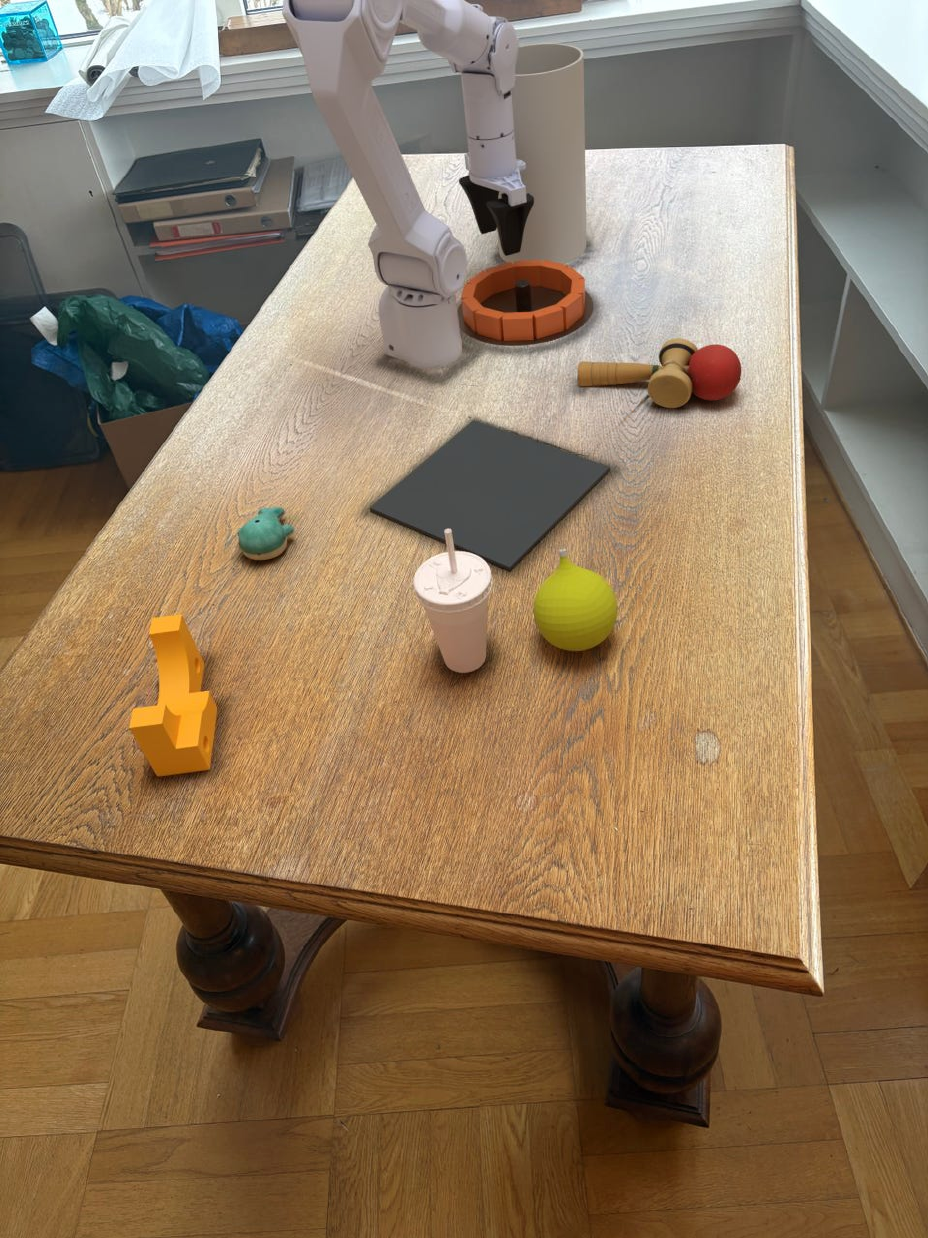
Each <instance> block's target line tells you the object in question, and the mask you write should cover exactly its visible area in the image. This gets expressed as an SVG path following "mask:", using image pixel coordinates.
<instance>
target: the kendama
mask: <svg viewBox="0 0 928 1238" xmlns="http://www.w3.org/2000/svg"><path fill="white" fill-rule="evenodd" d="M658 360H659V363H660V365H659V364H648V363H641V362H640V363H637V362H616V361H615V362H613V361H612V362H608V361H586V360H585V361H584V360H582V361H579V363H578V366H577V383H578V386H579V387H594V386H595V387H600V386H613V385H623V384H632V383H640V382H641V383H642V382H644V381H645V382H647V381H648V385H647V395H648V397H649V399H650V400H651V401H652V402H653V403H655V404H656V405H657V406H660V407H663V408H667V409H676V408H680V407H682V406H684V405H685V404H687V403H688V402H689V400H690V398H691V396H692V394H694V395H695V396H696V397H698V398H700V399H702V400H704V401H719V400H722V399H724V398H727V397H728V396H730V395H731V394H732V393H733V392H734V391H736V388H737V387H738V386H739V384H740V382H741V379H742V378H741V377H742V364H741V361H740V359H739V356H738V355H737V353H736V352H735V351H733V350H732V349H731V348H730V347H727V346H726V345H722V344H716V343H715V344H708V345H705V346H702V347H701V348H699V349H698V347H697V346H696V345H695V343H694V342H692V341H690V340H688V339H686V338H682V337H681V338H680V337H675V338H671V339H669V340H667V341H666V342H664V343H663V344H662V346H661V348H660V350H659V353H658Z"/></svg>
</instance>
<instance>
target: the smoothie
mask: <svg viewBox="0 0 928 1238" xmlns="http://www.w3.org/2000/svg"><path fill="white" fill-rule="evenodd" d="M444 532H445V538H446V543H445V544H446V551H445V552H441V553H439V554H436V555H433V556H432V557H429V558H428V559H426V560H425V561H424V562H423V563H421V565H420V566H419V567H418V568H417V569H416V571H415V573H414V576H413V586H414V587H413V588H414V589H413V590H414V595H415V597H416V599H417V601H418V602H419V603H420V604H421V606H423V608H424V611H425V613H426V617H427V619H428V622H429V624H430V627H431V629H432V632H433V635H434V638H435V640H436V644H437V646H438V648H439V651H440V653H441V654H440V655H441V656H442V659H443V661H444V664H445V665H446V667H447V668H448V669H449V670H451V671H453V672H455V673H460V674H464V673H465V674H466V673H471V672H474V671H476V670H478V669H480V668H481V667H482V666H483V665H484V663H485V662H486V658H487V646H488V645H487V641H488V618H489V617H488V616H489V600H490V599H489V594H490V593H491V592H492V589H493V584H494V581H493V575H492V571H491V567H490V565H489V563H487V561H486V560H483V559H482V558H481V557H479V556H477V555H475V554H472V553H469V552H465V551H462V550H455V547H454V544H453V537H452V531H451V529H446V530H445V531H444Z"/></svg>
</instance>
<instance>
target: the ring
mask: <svg viewBox="0 0 928 1238" xmlns="http://www.w3.org/2000/svg"><path fill="white" fill-rule="evenodd" d="M523 279H525V280H529V281H530V286H531V287H537V286H541V287H545V288H549V289H553V290H557V291H561V292H563V293H564V294H565V295H566V297H565V298H563V299H562V300H561V301H560V302H558V303H557V304H556V305H552V306H549V307H546V308H543V309H540V310H536V311H533V312H514V313H504V312H500V311H496V310H492V309H489V308H485V307H483V306H482V305H481V303H482V302H484V301H485V300H486V299H488V298H489V297H490V296H492V295H493V294H496V293H499V292H503V291H506V290H509V289H512V288H515V282H516V281H518V280H523ZM585 291H586V279H585V277H584V276H583V275H582V274H581V273H580V272H578V271H577V270H576V269H575V268H573V267H572V266H569V265H568V264H560V263H556V262H551V261H547V260H544V261H543V262H542V260H528V261H514V264H513V263H512V262H508V263H507V262H504V263H501V264H497V265H496V266H490V267H488V268H485V270H481V271H480V272H478V273H477V274H476V275H474V276H473V277H471V278H470V279H469V280H467V281H466V282H465V284H464V285H463V290H462V292H461V297H460V301H461V303H462V310H463V318H464V321H465V322H466V323H467V324H468V326H469V327H470V328H471V329H472V330H473V331H474V332H477V334H479V335H483V336H486V337H490V338H493V339H497V340H500V341H501V340H502V339H503V338H504V341H521V340H534V337H536V338H537V339H540V338H543V337H546V336H550V335H553V334H556V333H559V332H562V331H564V329H566V330H567V329H568V328H569V327H571V326H572V325H573V324H574V323H575V322H577V321H578V320H579V319H580V318H581V317H582V316H583V315H584V308H585Z"/></svg>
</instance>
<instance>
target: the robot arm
mask: <svg viewBox="0 0 928 1238" xmlns="http://www.w3.org/2000/svg"><path fill="white" fill-rule="evenodd" d="M282 1H283V2H282V10H281V14H282V17H283V20H285V23H286V25H287V27H288V29H289V31H290V34H291V35H292V37H293V39H294V42H295V43H296V46H297V48H298V50H299V52H300V55H301V56H302V58H303V62H304V66H305V70H306V75H307V79H308V83H309V87H310V92H311V94H312V97H313V99H314V101H315V103H316V105H317V107H318V110H319V111H320V113H321V116H322V117H323V119H324V121H325V123H326V126H327V128H328V130H329V132H330V134H331V135H332V137H333V139H334V142H335V143H336V145H337V147H338V150H339V152H340V154H341V156H342V158H343V160H344V162H345V164H346V167H347V168H348V170H349V172H350V174H351V176H352V178H353V180H354V182H355V184H356V186H357V188H358V190H359V192H360V194H361V196H362V198H363V201H364V203H365V204H366V206H367V208H368V210H369V212H370V214H371V216H372V218H373V221H374V222H375V224H376V225H375V226H374V228H373V230H371V231H372V232H371V234H370V237H369V240H368V243H367V245H368V248H369V250H370V252H371V254H372V258H373V259H372V260H373V266H374V271H375V274H376V277H377V279H378V280H379V282H380V283H381V284H382V285H384V286H387V287H386V288H385V289H384V290H383V292H382V294H381V296H380V298H379V301H378V311H377V312H378V319H379V325H380V329H381V335H382V340H383V341H382V342H383V345H384V351H385V355H387V356H390V357H393V358H396V359H398V360H401V361H404V362H406V363H407V364H408V365H410V366H411V367H413V368H414V367H415V368H417V369H423V370H429V369H430V370H434V369H439V368H443V367H447V366H449V365H452V364H453V363H455V362H457V360H458V359H459V358H460V357H461V356H462V354H463V344H462V336H461V329H460V327H459V319H458V303H457V295H456V294H457V293H458V292H459V290H460V289H461V288H462V287H463V284H464V282H465V280H466V277H467V273H468V256H467V252H466V249H465V247H464V244H463V243H462V241H460V240H459V239H457V238H456V236H454V234H453V232H452V230H451V227H450V226H449V225H448V224H446V223H445V222H443V221H442V220H440V219H439V218H438V217H436V216H435V215H433V214H432V213H430V212H429V211H428V210H426V209H425V206H424V203H423V201H422V199H421V197H420V194H419V192H418V190H417V187H416V186H415V183H414V180H413V178H412V176H411V173H410V170H409V169H408V166H407V164H406V162H405V160H404V157H403V155H402V153H401V150H400V148H399V145H398V144H397V141H396V139H395V136H394V134H393V132H392V130H391V127H390V125H389V123H388V120H387V118H386V116H385V113H384V111H383V108H382V106H381V103H380V101H379V99H378V97H377V95H376V92H375V89H374V88H373V87H374V86H373V84H372V83H373V81H374V80H376V79H377V78H378V77H380V76H381V75H383V74H384V72H385V68H386V65H387V63H388V59H389V56H390V53H391V49H392V46H393V43H394V40H395V37H396V33H397V30H398V27H399V23H400V24H402V25H404V26H407V27H409V28H411V29H414V30H415V31H416V32H417V37H418V39H419V42H420V43H421V45H422V46H423V47H424V48H425V49H426V50H427V51H429V52H431V53H434V54H435V55H437V56H440V57H441V58H443V59H445V60H447V61H448V64H449V67H450V69H451V70H452V72H453V73H454V74H457V73H459V74H460V81H461V91H462V101H463V111H464V120H465V132H466V138H467V140H466V141H467V149H468V152H465V153H464V155H463V156H464V165H465V169H466V170H467V171H468V175H465V176H462V177H460V178H459V179H458V184H459V185H460V187H461V188H462V189H463V191H464V192H465V195H466V197H467V199H468V202H469V204H470V206H471V209H472V212H473V215H474V218H475V221H476V225H477V228H478V231H479V232H480V234H481V235H486V234H489V233H492V232H495V231H496V232H497V229H498V234H499V239H500V244H501V248H502V251H503V253H504V255H505V256H508V255H512V254H515V253H518V252H520V250H521V245H522V239H523V233H524V228H525V224H526V220H527V217H528V215H529V213H530V210H531V208H532V207H533V205H534V197H533V196H532V195H530V194H529V193H528V194H526V186H525V185H523V183H522V181H521V177H520V172H519V171H521V170H524V169H525V168H526V166H525V162H523V161H522V160H520V159H517V160H516V148H515V134H514V119H513V105H512V90H511V88H513V87H514V85H515V80H516V78H515V66H516V61H517V57H518V50H519V46H520V39H519V37H518V36H517V32H516V28H515V27H514V25H513V24H512V23H510V21H509V20H508V19H507V18H506V17H504V16H489V15H488V14H487V13H486V12H484V8H483V6H482V5H480V4H479V3H478V4H477V3H469V2H468V1H466V0H282ZM499 191H500V192H501V193H502V194H501V198H502V199H501V198H499V199H498V196H499Z"/></svg>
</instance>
